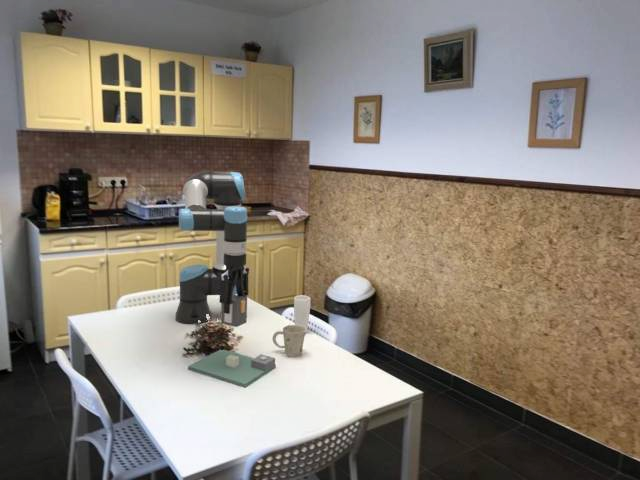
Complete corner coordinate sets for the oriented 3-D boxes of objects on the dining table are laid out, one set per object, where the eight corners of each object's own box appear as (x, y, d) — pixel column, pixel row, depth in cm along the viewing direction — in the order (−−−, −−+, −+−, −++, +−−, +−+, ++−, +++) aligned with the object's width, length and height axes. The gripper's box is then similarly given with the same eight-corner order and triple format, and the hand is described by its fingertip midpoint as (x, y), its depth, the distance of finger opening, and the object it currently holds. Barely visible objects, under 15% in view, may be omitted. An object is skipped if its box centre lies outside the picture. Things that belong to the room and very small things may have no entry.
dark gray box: (220, 323, 176) (221, 297, 174) (231, 318, 181) (231, 294, 179) (238, 327, 172) (238, 301, 171) (247, 322, 177) (248, 297, 176)
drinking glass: (308, 335, 213) (310, 300, 210) (292, 334, 213) (293, 299, 210) (309, 329, 219) (310, 295, 217) (293, 328, 220) (294, 294, 217)
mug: (301, 359, 189) (302, 333, 187) (268, 355, 191) (269, 329, 189) (306, 351, 197) (307, 326, 195) (274, 347, 199) (275, 322, 197)
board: (188, 369, 176) (188, 357, 176) (221, 352, 192) (221, 341, 191) (245, 387, 165) (245, 375, 165) (275, 367, 181) (276, 356, 180)
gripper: (226, 259, 162) (225, 329, 166) (260, 250, 179) (258, 314, 183) (208, 256, 166) (207, 324, 170) (242, 247, 182) (241, 310, 186)
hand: (234, 319), depth 176 cm, fingers closed on dark gray box, 6 cm apart
